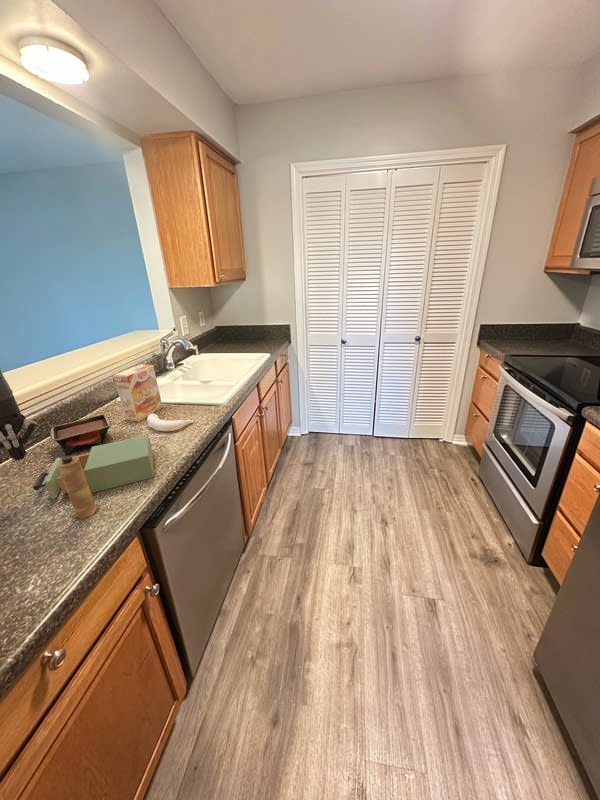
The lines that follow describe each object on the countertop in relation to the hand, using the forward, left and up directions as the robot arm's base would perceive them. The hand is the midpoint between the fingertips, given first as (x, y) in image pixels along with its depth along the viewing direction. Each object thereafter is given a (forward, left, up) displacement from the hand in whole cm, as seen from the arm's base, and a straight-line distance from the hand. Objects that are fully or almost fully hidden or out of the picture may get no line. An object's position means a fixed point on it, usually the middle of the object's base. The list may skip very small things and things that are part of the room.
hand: (20, 458), depth 85 cm
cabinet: (+22, 0, -12) cm, 25 cm away
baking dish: (+8, +27, -12) cm, 31 cm away
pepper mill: (+14, -15, -12) cm, 24 cm away
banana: (+36, +29, -12) cm, 48 cm away
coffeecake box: (+27, +45, -12) cm, 54 cm away
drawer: (+11, 0, -11) cm, 15 cm away
